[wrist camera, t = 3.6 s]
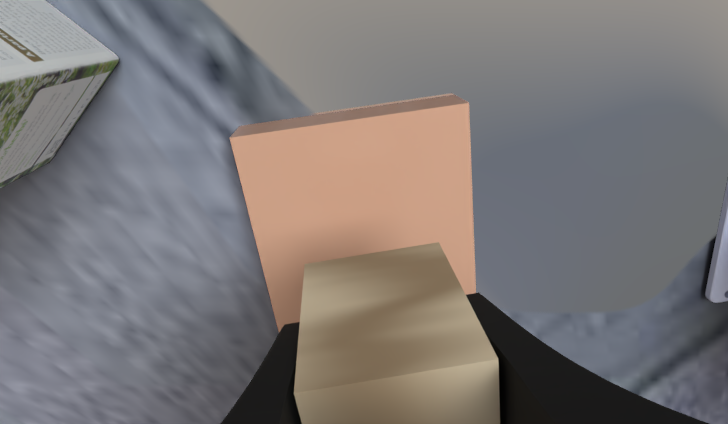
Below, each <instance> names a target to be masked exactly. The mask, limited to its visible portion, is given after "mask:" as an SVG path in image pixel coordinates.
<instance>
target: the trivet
mask: <svg viewBox="0 0 728 424" xmlns="http://www.w3.org/2000/svg"><path fill="white" fill-rule="evenodd" d="M313 114H314V115H312V116H305V117H298V118H291V119H285V120H278V121H271V122H264V123H257V124H250V125H243V126H239V127H238V128H237V130H236V131H235V132H234V133H233V134H232V136H231V137H230V141H231V145H232V149H233V153H234V157H235V161H236V165H237V169H238V173H239V177H240V181H241V185H242V189H243V193H244V197H245V201H246V205H247V209H248V213H249V216H250V220H251V224H252V228H253V232H254V236H255V240H256V244H257V248H258V252H259V256H260V260H261V264H262V268H263V272H264V276H265V280H266V284H267V288H268V292H269V295H270V299H271V303H272V307H273V311H274V315H275V319H276V323H277V327H278V331H279V332H280V330H281V329H282V327H283V326H284V325H285V324H290V323H296V322H300V313H301V302H302V290H303V278H304V266H305V264H308V263H314V262H320V261H326V260H332V259H338V258H345V257H351V256H357V255H363V254H369V253H375V252H381V251H387V250H394V249H400V248H406V247H412V246H418V245H424V244H430V243H437V242H439V244H440V246H441V248H442V250H443V252H444V254H445V255H446V257H447V259H448V261H449V263H450V265H451V267H452V269H453V271H454V273H455V275H456V277H457V279H458V281H459V283H460V285H461V287H462V289H463V291H464V293H465V295H468V294H474V293H476V281H475V253H474V226H473V200H472V199H473V198H472V173H471V172H472V171H471V144H470V116H469V103H468V102H467V101H465V100H463V99H461V98H460V97H458V96H456V95H454V94H453V93H450V94H443V95H437V96H429V97H422V98H415V99H408V100H401V101H394V102H388V103H381V104H374V105H367V106H360V107H354V108H346V109H340V110H333V111H326V112H319V113H313Z"/></svg>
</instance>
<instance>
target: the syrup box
mask: <svg viewBox="0 0 728 424" xmlns="http://www.w3.org/2000/svg"><path fill="white" fill-rule="evenodd" d="M118 61H119V58H118V56H117V55H116V54H115V53H113V52H112V51H111V50H109V49H108V48H107V47H105V46H104V45H103V44H102V43H100V42H99V41H98V40H96V39H95V38H94V37H92V36H91V35H90V34H88V33H87V32H86V31H85V30H83V29H82V28H81V27H80V26H78V25H77V24H76V23H74V22H73V21H72V20H71V19H69V18H68V17H66V16H65V15H64V14H62V13H61V12H60V11H59V10H57V9H56V8H55V7H54V6H52V5H51V4H49V3H48V2H47V1H45V0H0V188H2V187H4V186H6V185H8V184H10V183H11V182H13V181H15V180H16V179H19V178H21V177H23V176H25V175H27V174H29V173H30V172H32V171H34V170H36V169H38V168H39V167H42V166H44V165H45V164H47V163H49V162H50V161H51V160H52V158H53V157H54V155H55V154H56V152H57V151H58V149H59V148H60V147H61V145H62V143H63V142H64V140H65V139H66V137H67V136H68V135H69V133H70V132H71V130H72V129H73V127H74V126H75V124H76V123H77V121H78V120H79V118H80V117H81V115H82V114H83V112H84V111H85V109H86V108H87V107H88V105H89V104H90V102H91V101H92V99H93V98H94V96H95V95H96V93H97V92H98V91H99V89H100V88H101V86H102V85H103V83H104V82H105V81H106V79H107V78H108V76H109V75H110V74H111V72H112V71H113V69H114V68H115V66H116V65H117V63H118Z"/></svg>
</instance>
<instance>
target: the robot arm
mask: <svg viewBox="0 0 728 424" xmlns="http://www.w3.org/2000/svg"><path fill="white" fill-rule="evenodd" d="M705 296H706V298H707V299H709V300H710V301H712V302H714V303H719V302H725V301H728V179H727V184H726V189H725V195H724V200H723V205H722V210H721V215H720V220H719V225H718V230H717V236H716V241H715V246H714V251H713V256H712V261H711V266H710V271H709V277H708V282H707V287H706V292H705ZM466 297H467V299H468V300H469V302H470V304H471V306H472V308H473V310H474V312H475V314H476V316H477V318H478V320H479V322H480V324H481V326H482V328H483V330H484V332H485V334H486V336H487V338H488V340H489V342H490V344H491V345H492V347H493V349H494V351H495V353H496V355H497V357H498V362H499V400H500V424H708V423H706V422H703V421H700V420H698V419H695V418H692V417H690V416H687V415H684V414H682V413H679V412H677V411H674V410H671V409H669V408H666V407H664V406H662V405H659V404H657V403H654V402H652V401H650V400H647V399H645V398H643V397H641V396H639V395H637V394H634V393H632V392H630V391H628V390H626V389H624V388H621V387H619V386H617V385H615V384H613V383H611V382H609V381H607V380H605V379H603V378H601V377H600V376H598V375H596V374H594V373H592V372H591V371H589V370H587V369H585V368H583V367H581V366H580V365H578V364H576V363H574V362H573V361H571V360H569V359H568V358H566V357H565V356H563V355H561V354H560V353H558V352H557V351H555V350H554V349H552V348H551V347H549V346H548V345H546V344H545V343H543V342H542V341H540V340H539V339H537V338H536V337H535V336H533V335H532V334H531V333H529V332H528V331H527V330H525V329H524V328H523V327H521V326H520V325H519V324H517V323H516V322H515V321H513V320H512V319H511V318H510V317H508V316H507V315H506V314H505V313H503V312H502V311H501V310H500V309H498V308H497V307H496V306H495V305H493V304H492V303H491V302H490V301H489V300H487V299H486V298H485V297H484V296H482V295H480V294H479V293H474V294H468V295H466ZM299 325H300V322H296V323H290V324H285V325H284V326H283V327H282V329H281V330H280V332H279V334H278V336H277V338H276V340H275V342H274V343H273V345H272V347H271V349H270V351H269V352H268V354H267V356H266V357H265V359H264V361H263V363H262V364H261V366H260V367H259V369H258V371H257V372H256V374H255V375H254V377H253V379H252V380H251V382H250V383H249V385H248V386H247V388H246V389H245V391H244V392H243V394H242V395H241V397H240V398H239V399H238V401H237V402H236V404H235V405H234V407H233V408H232V409H231V411H230V412H229V413H228V415H227V416H226V417H225V419H224V420H223V421H222V423H221V424H302V422H301V419H300V415H299V411H298V407H297V404H296V400H295V396H294V384H295V372H296V360H297V349H298V337H299Z"/></svg>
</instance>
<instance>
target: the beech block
mask: <svg viewBox="0 0 728 424" xmlns="http://www.w3.org/2000/svg"><path fill="white" fill-rule="evenodd" d="M294 396H295V400H296V404H297V407H298V411H299V415H300V419H301V422H302V424H500V400H499V362H498V357H497V355H496V353H495V351H494V349H493V347H492V345H491V344H490V342H489V340H488V338H487V336H486V334H485V332H484V330H483V328H482V326H481V324H480V322H479V320H478V318H477V316H476V314H475V312H474V310H473V308H472V306H471V304H470V302H469V300H468V299H467V297H466V295H465V293H464V291H463V289H462V287H461V285H460V283H459V281H458V279H457V277H456V275H455V273H454V271H453V269H452V267H451V265H450V263H449V261H448V259H447V257H446V255H445V254H444V252H443V250H442V248H441V246H440V244H439V242H437V243H430V244H424V245H418V246H412V247H406V248H400V249H394V250H387V251H381V252H375V253H369V254H363V255H357V256H351V257H345V258H338V259H332V260H326V261H320V262H314V263H308V264H305V266H304V278H303V290H302V302H301V313H300V325H299V337H298V349H297V360H296V372H295V384H294Z"/></svg>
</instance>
